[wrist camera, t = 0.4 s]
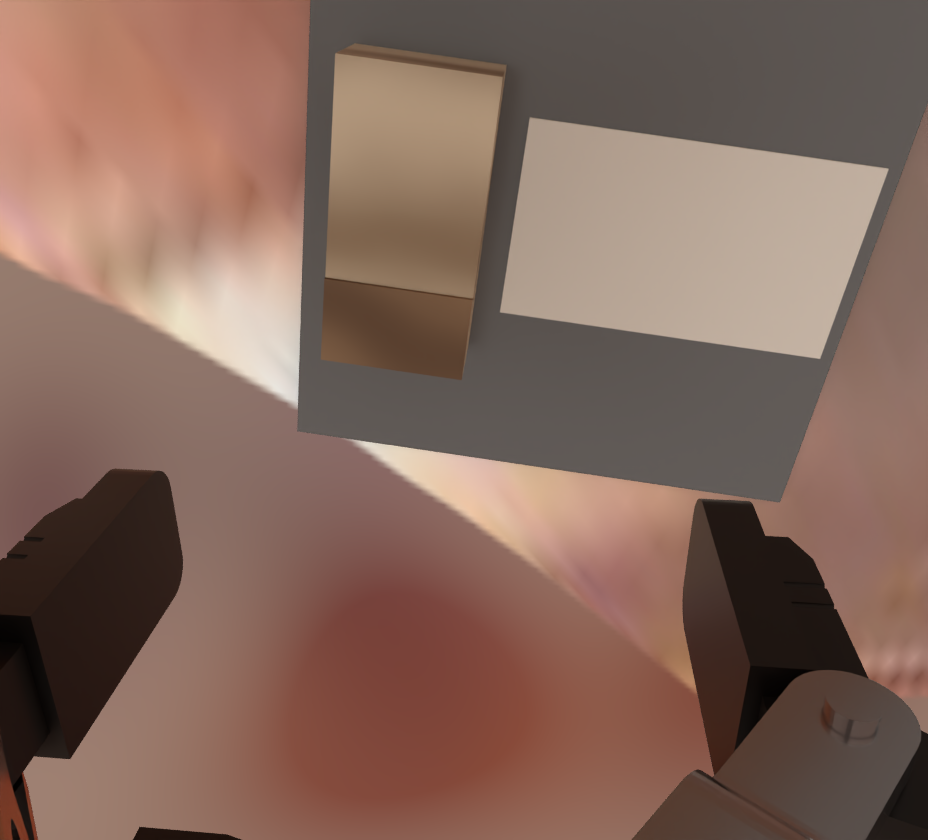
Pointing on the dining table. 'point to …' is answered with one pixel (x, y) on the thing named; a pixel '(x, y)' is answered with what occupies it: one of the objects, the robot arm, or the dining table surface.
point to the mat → (640, 228)
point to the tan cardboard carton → (407, 207)
